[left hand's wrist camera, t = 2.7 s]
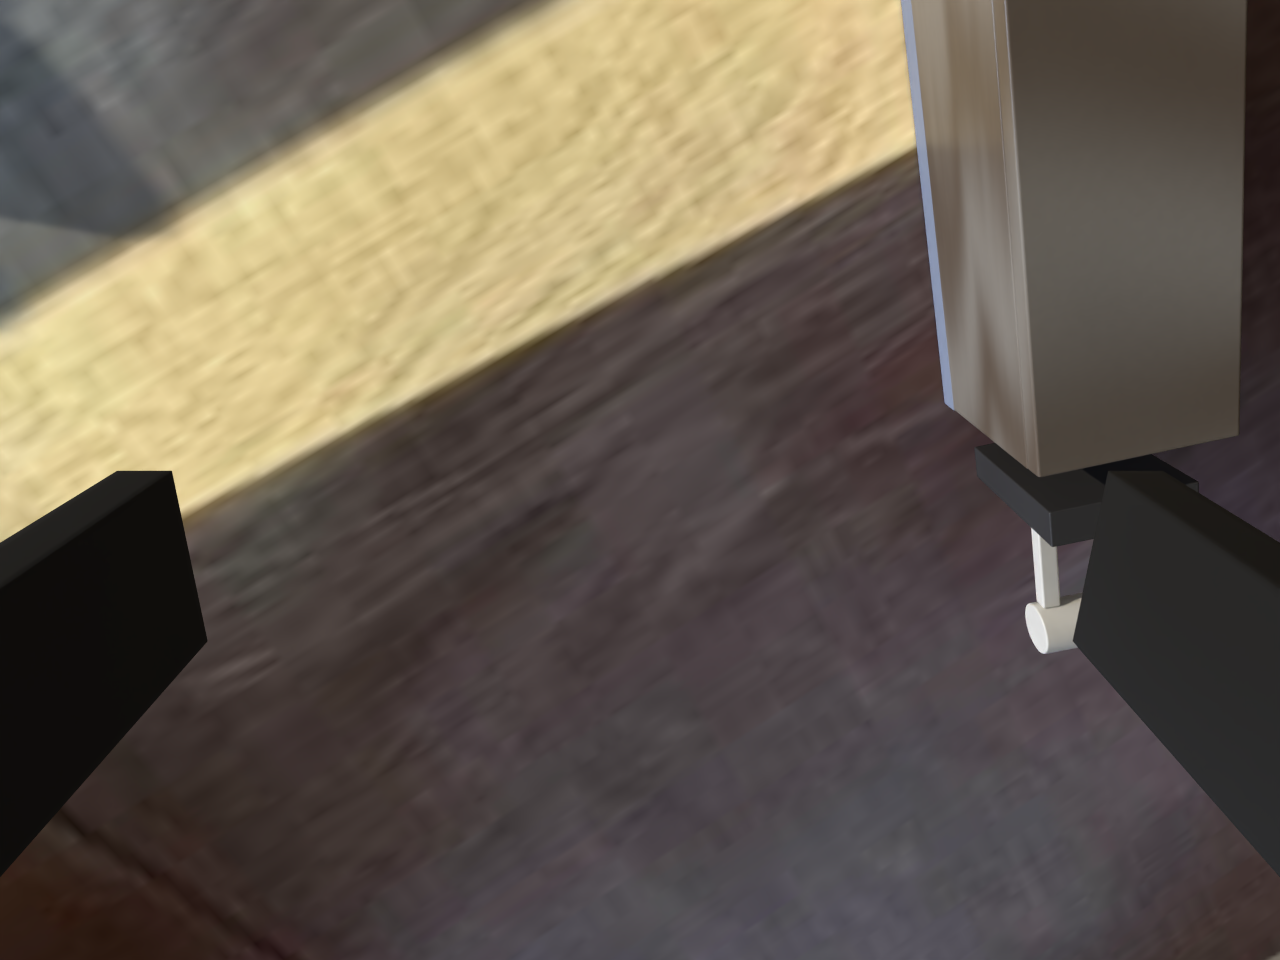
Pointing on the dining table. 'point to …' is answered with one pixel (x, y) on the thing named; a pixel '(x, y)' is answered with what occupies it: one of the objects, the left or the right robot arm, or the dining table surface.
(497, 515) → the dining table surface
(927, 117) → the cabinet
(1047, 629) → the drawer
